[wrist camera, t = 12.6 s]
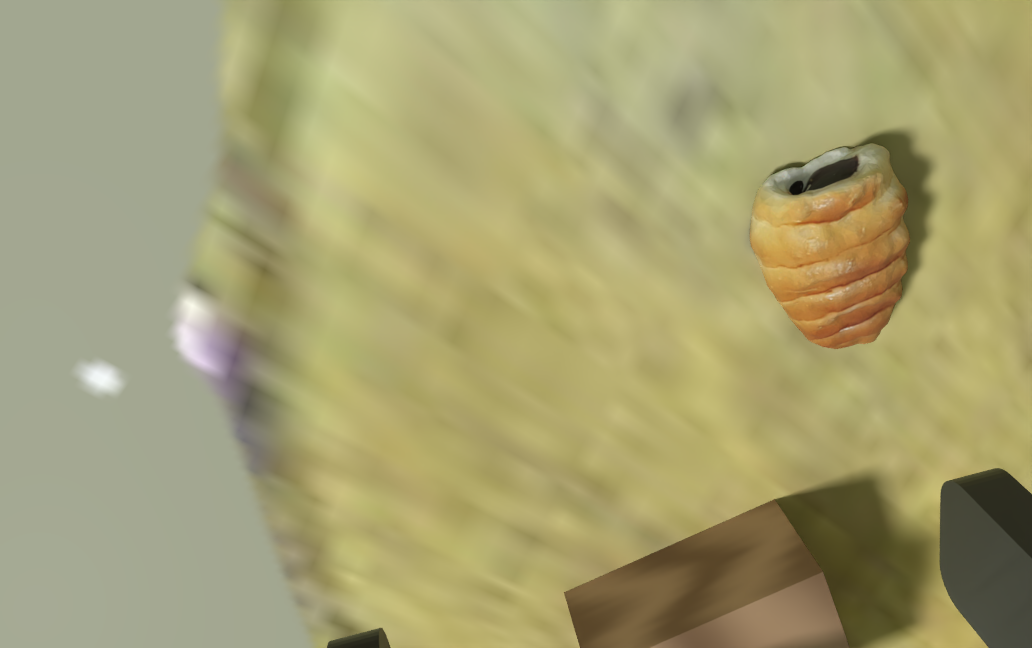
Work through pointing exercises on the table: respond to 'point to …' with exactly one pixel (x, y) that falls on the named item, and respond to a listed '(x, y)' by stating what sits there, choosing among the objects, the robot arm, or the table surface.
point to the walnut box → (714, 593)
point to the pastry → (834, 243)
